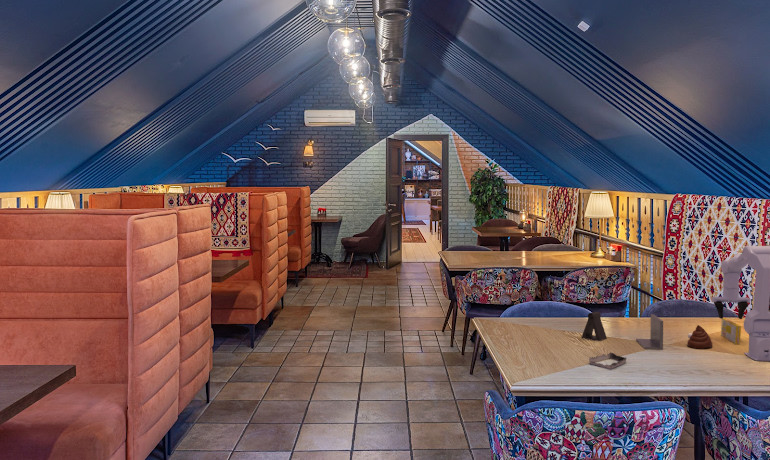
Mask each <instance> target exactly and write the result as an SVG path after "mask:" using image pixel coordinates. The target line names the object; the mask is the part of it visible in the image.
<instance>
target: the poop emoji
mask: <svg viewBox="0 0 770 460" xmlns="http://www.w3.org/2000/svg"><path fill="white" fill-rule="evenodd" d="M687 338H688V341H687V345H688V348H689V347H690V348H692V349H695V350H696V349H698V350H702V349H711V348H712V347H713V345H714V344H713V342H712V339H711V337H710V335H709V333H708V332H707V331H706V329H704V328H703V327H702V326H701V325H699V324H697V325H696V327H695V330H693V331H692V332H689V333H688V334H687Z"/></svg>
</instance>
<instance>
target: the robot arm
mask: <svg viewBox="0 0 770 460" xmlns="http://www.w3.org/2000/svg"><path fill="white" fill-rule="evenodd" d="M747 266H749V267H750V268H751V269H754V270H755V280H754V295H753V306H752V309H751V310H750V311H748V312H747V313H746V314H745V311H746V309H747V308H748V307H749V304H750V303H751V298H750V297H741V296H739V293H740V292H739V290H740V289H739V287H740V285H739V283H740V278H741V273H742V271H743V270H742V269H743V268H745V267H747ZM720 270H721V273H722V274H723V283H722V284H723V285H722V286H723V287H722V289H723V290H722V291H723V292H722V293H723V294H722V296H712V297H711V302H712V303H713V304H714V306H715V308H716V311H717V314H718V318H719V319H721V320H722V319H723V318H724V305H725V304H724V303H737V309H738V310H737V318H738V320H742V319H743V316H744V314H745V317H744V318H745V319H744V320H743V329H744V331H745V333H747V335H748V352H743V354H744V355H745V356H747V357H749V358H750V359H752V360H753V361H758V362H759V361H761V362H762V361H763V362H765V361H766V362H770V311H769V309H770V245H745V246H743V248H742V252H741V253H735V254H734V256H733V257H731V258H730V259H728V260H725V259H724V260H722V261H721V264H720Z"/></svg>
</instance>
